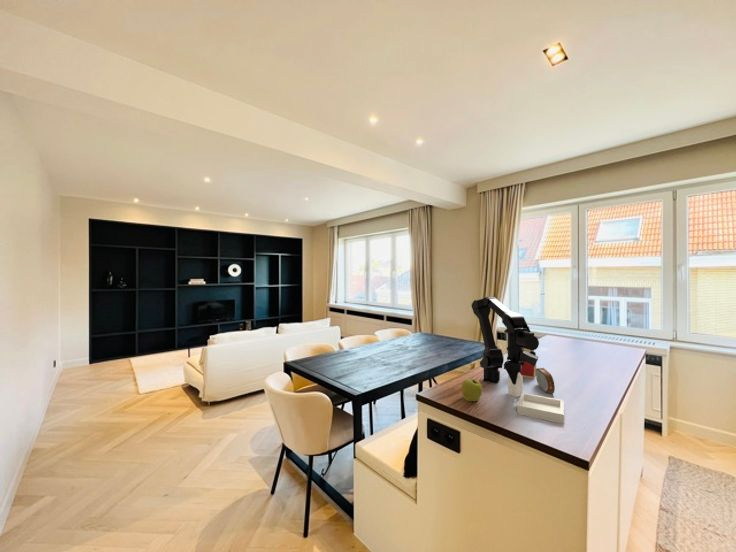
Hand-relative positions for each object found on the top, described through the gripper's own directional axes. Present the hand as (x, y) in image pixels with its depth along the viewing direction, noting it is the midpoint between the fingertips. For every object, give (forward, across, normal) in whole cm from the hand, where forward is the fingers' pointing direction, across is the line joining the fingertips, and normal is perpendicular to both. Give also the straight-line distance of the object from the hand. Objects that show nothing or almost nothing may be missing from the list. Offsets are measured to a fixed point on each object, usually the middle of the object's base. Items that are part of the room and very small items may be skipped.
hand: (515, 381), depth 127 cm
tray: (+5, -13, -10) cm, 17 cm away
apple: (+5, -16, +14) cm, 22 cm away
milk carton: (+5, +30, -1) cm, 30 cm away
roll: (+5, 0, 0) cm, 5 cm away
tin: (+5, +12, -10) cm, 16 cm away
